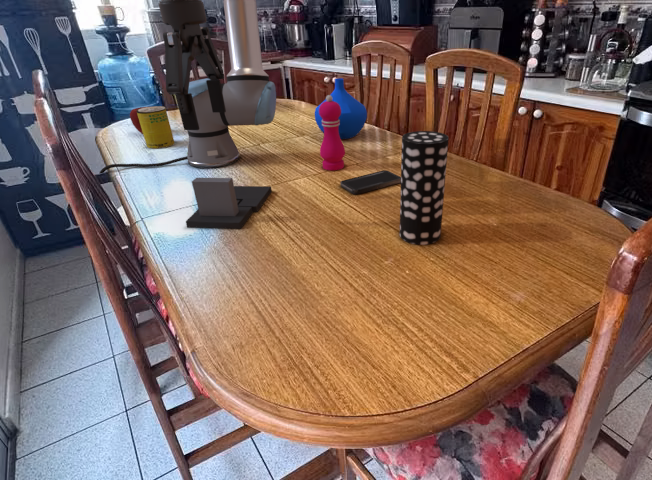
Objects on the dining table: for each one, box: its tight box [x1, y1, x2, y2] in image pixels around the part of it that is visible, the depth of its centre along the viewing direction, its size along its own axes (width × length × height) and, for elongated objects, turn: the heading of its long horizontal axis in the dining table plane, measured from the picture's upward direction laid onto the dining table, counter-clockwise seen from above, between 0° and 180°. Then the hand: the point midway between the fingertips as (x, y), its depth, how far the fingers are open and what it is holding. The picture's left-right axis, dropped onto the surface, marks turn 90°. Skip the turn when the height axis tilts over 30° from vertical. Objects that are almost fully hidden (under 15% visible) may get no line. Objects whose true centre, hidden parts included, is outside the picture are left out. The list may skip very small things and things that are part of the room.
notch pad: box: [234, 185, 273, 213], centre depth 101 cm, size 14×12×2 cm
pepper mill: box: [319, 94, 346, 172], centre depth 116 cm, size 7×7×20 cm
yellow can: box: [136, 105, 175, 150], centre depth 142 cm, size 9×9×12 cm
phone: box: [339, 169, 401, 195], centre depth 109 cm, size 8×1×15 cm
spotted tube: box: [399, 130, 450, 246], centre depth 80 cm, size 8×8×20 cm
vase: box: [314, 77, 368, 140], centre depth 145 cm, size 18×18×19 cm
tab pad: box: [185, 177, 254, 230], centre depth 92 cm, size 12×12×10 cm
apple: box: [129, 106, 146, 135], centre depth 155 cm, size 10×10×10 cm
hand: (206, 120), depth 85 cm, fingers open, 13 cm apart
